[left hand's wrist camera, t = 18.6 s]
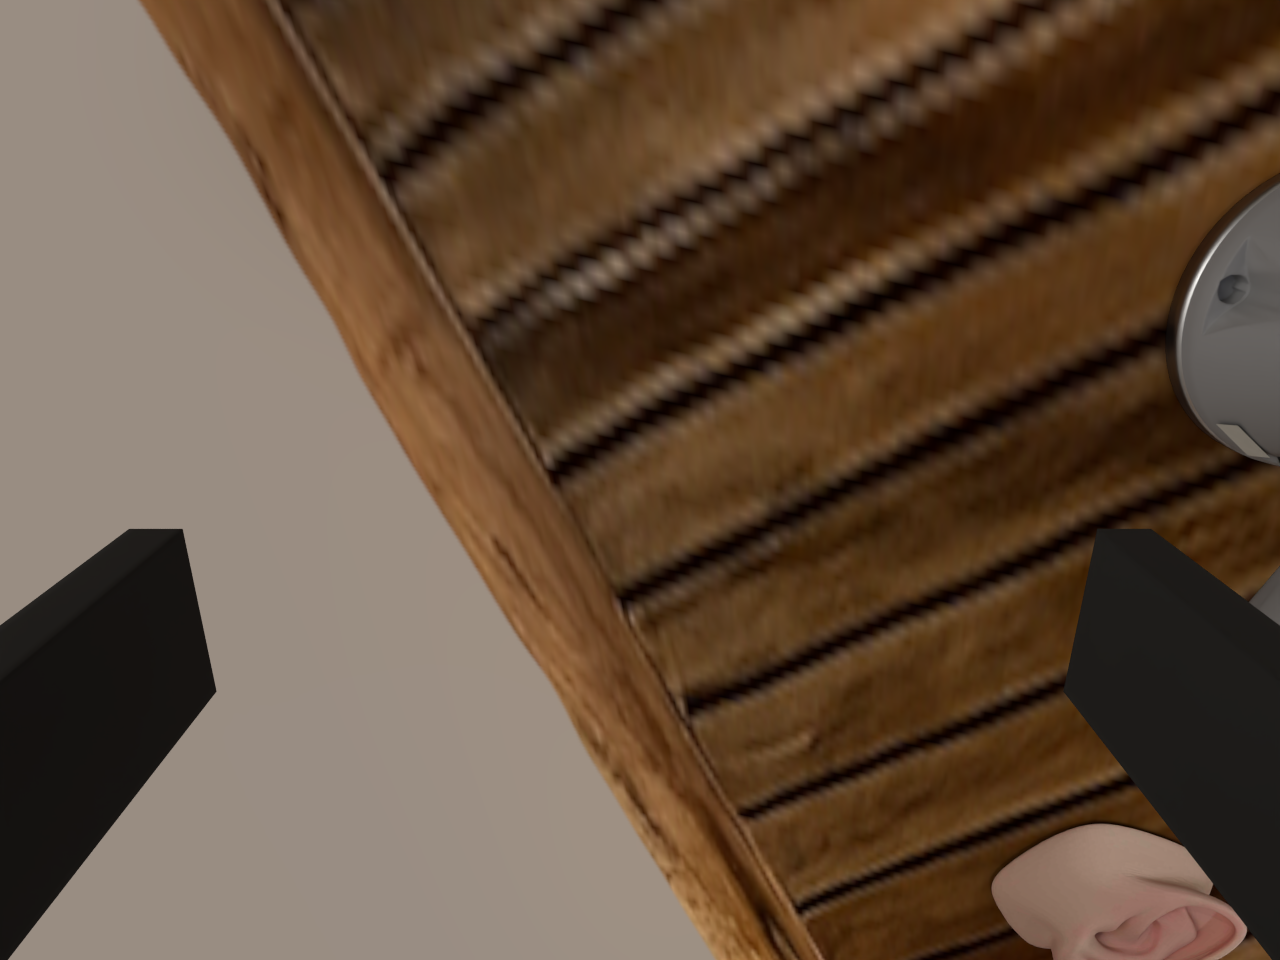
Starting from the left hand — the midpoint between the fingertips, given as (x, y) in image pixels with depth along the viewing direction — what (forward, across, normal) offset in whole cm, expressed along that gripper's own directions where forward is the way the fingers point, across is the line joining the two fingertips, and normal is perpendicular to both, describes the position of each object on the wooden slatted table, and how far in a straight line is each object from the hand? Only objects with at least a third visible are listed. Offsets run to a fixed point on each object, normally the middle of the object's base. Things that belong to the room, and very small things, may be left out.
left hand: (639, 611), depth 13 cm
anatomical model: (+32, +30, -39) cm, 59 cm away
